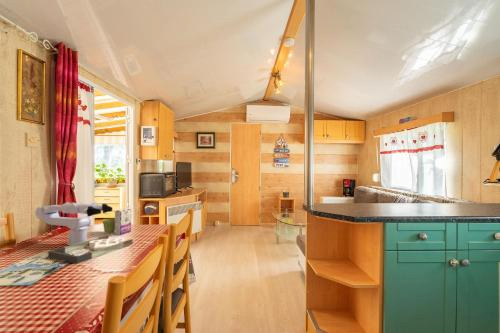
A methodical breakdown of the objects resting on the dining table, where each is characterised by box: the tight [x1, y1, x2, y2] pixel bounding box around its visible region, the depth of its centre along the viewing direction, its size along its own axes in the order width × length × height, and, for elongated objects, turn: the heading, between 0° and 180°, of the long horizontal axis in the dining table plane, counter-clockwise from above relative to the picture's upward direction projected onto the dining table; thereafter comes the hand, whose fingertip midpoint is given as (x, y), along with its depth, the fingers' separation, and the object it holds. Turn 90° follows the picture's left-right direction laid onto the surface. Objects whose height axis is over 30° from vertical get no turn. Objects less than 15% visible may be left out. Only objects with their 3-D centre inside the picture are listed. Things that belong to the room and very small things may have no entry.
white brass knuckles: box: [88, 237, 125, 251], centre depth 153 cm, size 3×18×15 cm
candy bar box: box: [114, 208, 132, 236], centre depth 182 cm, size 11×5×16 cm, turn 168°
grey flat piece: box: [64, 234, 134, 259], centre depth 148 cm, size 20×27×3 cm
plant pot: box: [102, 218, 115, 234], centre depth 184 cm, size 9×9×9 cm
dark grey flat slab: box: [47, 246, 93, 264], centre depth 132 cm, size 20×8×3 cm, turn 70°
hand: (106, 210), depth 149 cm, fingers open, 7 cm apart
